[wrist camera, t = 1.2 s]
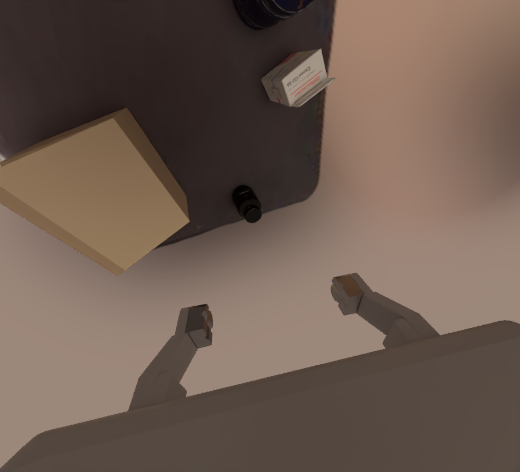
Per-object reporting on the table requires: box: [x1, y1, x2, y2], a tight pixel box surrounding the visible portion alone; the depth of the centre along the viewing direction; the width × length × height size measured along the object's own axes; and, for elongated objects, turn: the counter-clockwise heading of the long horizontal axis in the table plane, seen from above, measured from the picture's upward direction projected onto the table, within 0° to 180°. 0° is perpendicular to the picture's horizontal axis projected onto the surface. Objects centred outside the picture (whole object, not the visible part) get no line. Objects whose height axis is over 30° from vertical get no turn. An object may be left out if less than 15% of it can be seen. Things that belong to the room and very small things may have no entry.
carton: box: [0, 107, 189, 219], centre depth 40 cm, size 22×18×12 cm
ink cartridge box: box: [261, 49, 335, 107], centre depth 37 cm, size 9×5×15 cm, turn 121°
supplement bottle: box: [233, 186, 262, 223], centre depth 54 cm, size 7×7×12 cm
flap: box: [0, 118, 190, 276], centre depth 33 cm, size 22×18×1 cm
